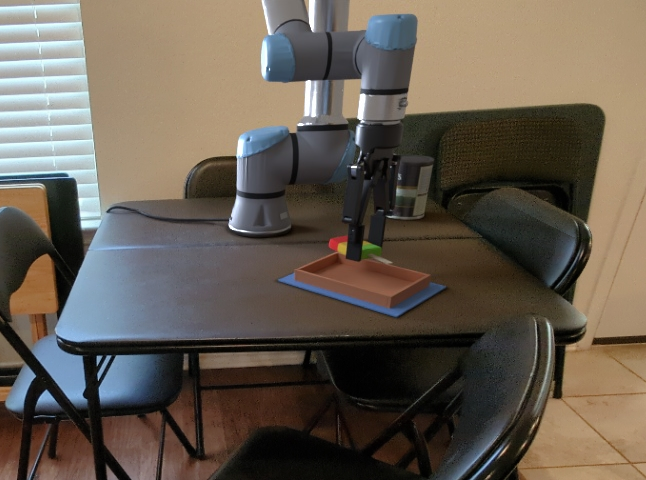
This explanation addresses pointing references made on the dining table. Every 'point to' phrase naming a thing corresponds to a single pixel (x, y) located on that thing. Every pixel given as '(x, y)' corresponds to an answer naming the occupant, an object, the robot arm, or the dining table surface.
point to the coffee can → (412, 187)
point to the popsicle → (367, 250)
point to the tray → (363, 279)
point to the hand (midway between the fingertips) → (363, 254)
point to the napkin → (393, 311)
